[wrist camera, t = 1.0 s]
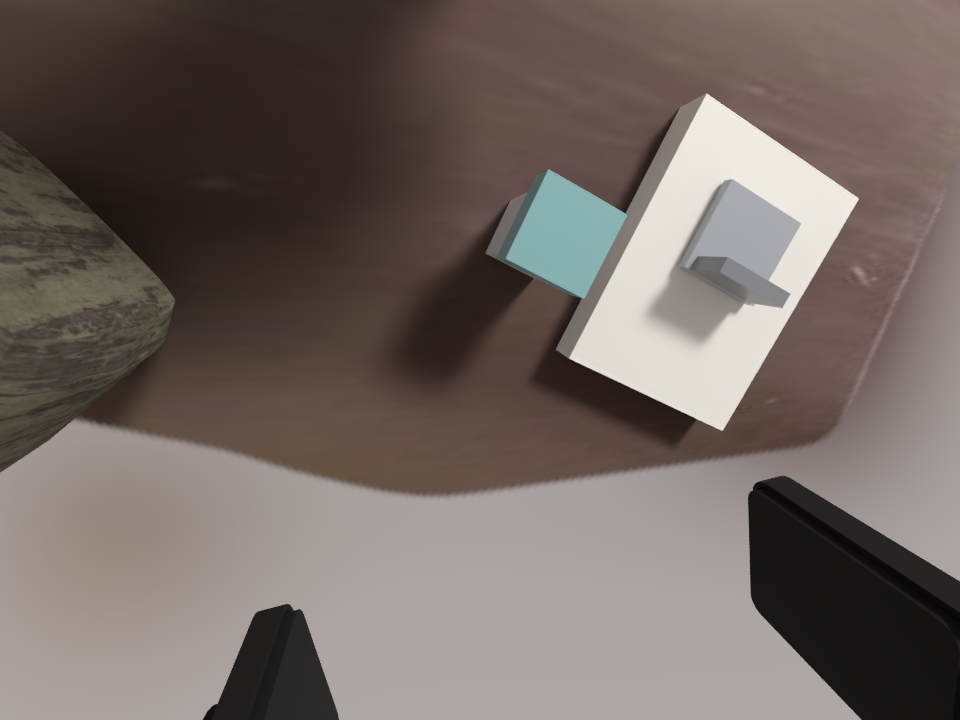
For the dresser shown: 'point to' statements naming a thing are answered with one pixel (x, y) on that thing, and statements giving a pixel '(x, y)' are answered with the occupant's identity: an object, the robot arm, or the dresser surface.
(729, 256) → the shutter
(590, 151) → the dresser surface
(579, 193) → the plug
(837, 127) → the dresser surface
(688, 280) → the socket
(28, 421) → the tabletop clock
